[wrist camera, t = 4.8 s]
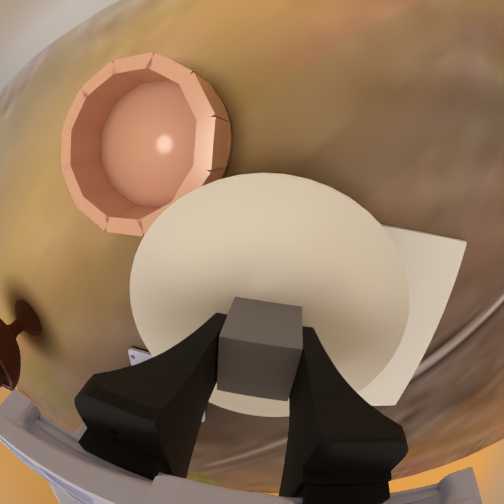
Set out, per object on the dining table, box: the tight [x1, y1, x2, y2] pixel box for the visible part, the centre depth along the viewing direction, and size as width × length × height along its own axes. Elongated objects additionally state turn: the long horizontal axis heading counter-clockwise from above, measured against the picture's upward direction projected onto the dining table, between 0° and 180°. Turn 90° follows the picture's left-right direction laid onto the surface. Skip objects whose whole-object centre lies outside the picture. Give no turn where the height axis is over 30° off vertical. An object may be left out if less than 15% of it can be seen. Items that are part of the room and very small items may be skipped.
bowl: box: [61, 53, 232, 236], centre depth 16 cm, size 11×11×4 cm
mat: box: [358, 224, 467, 406], centre depth 21 cm, size 18×18×1 cm
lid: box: [130, 172, 410, 417], centre depth 12 cm, size 14×14×4 cm
